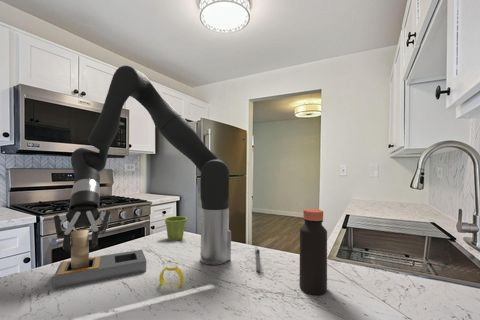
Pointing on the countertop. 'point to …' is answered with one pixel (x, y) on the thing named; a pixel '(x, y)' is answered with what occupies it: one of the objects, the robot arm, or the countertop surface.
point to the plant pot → (175, 227)
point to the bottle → (313, 253)
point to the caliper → (257, 258)
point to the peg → (79, 249)
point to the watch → (171, 268)
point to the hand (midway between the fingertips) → (80, 248)
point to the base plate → (100, 269)
